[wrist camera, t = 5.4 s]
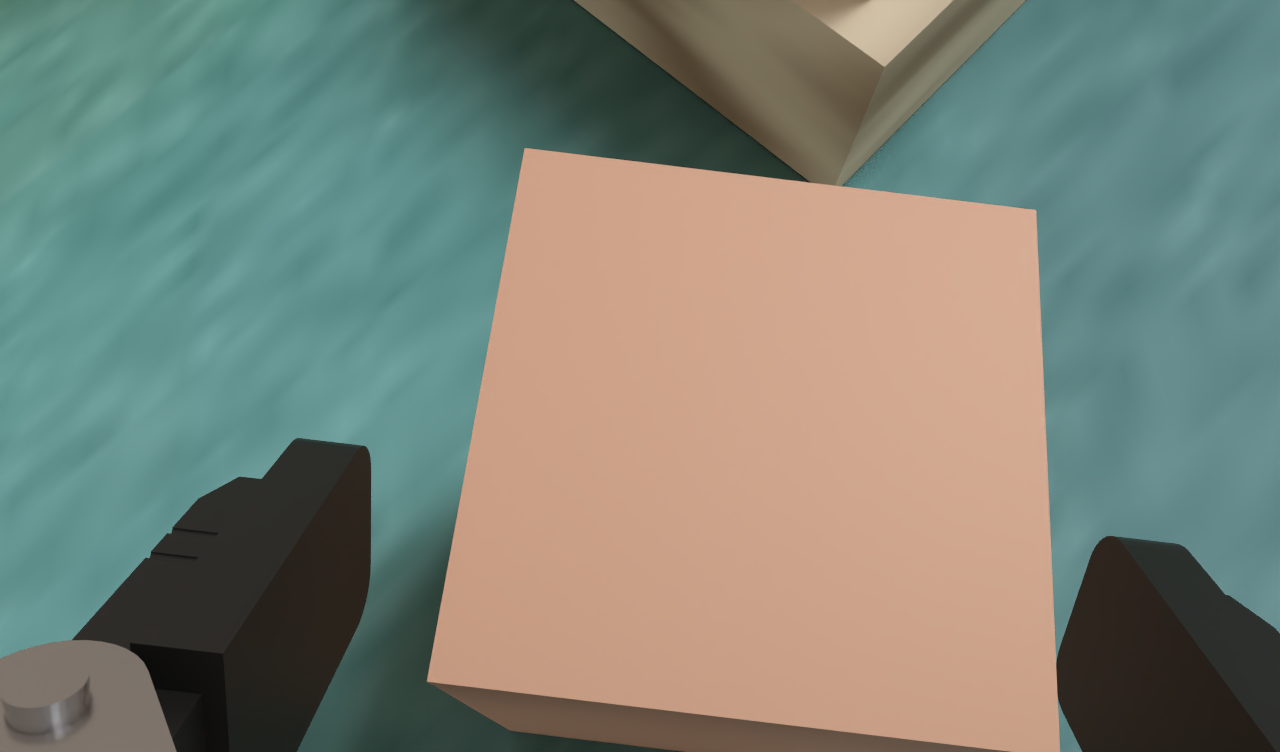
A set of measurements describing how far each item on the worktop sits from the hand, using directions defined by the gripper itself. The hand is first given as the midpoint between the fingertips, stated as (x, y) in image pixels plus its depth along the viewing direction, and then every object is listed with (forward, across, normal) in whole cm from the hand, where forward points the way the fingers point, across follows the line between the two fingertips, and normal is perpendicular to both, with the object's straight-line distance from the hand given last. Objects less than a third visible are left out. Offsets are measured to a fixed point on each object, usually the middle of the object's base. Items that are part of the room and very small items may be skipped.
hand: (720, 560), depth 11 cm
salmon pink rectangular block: (+5, 0, +4) cm, 6 cm away
